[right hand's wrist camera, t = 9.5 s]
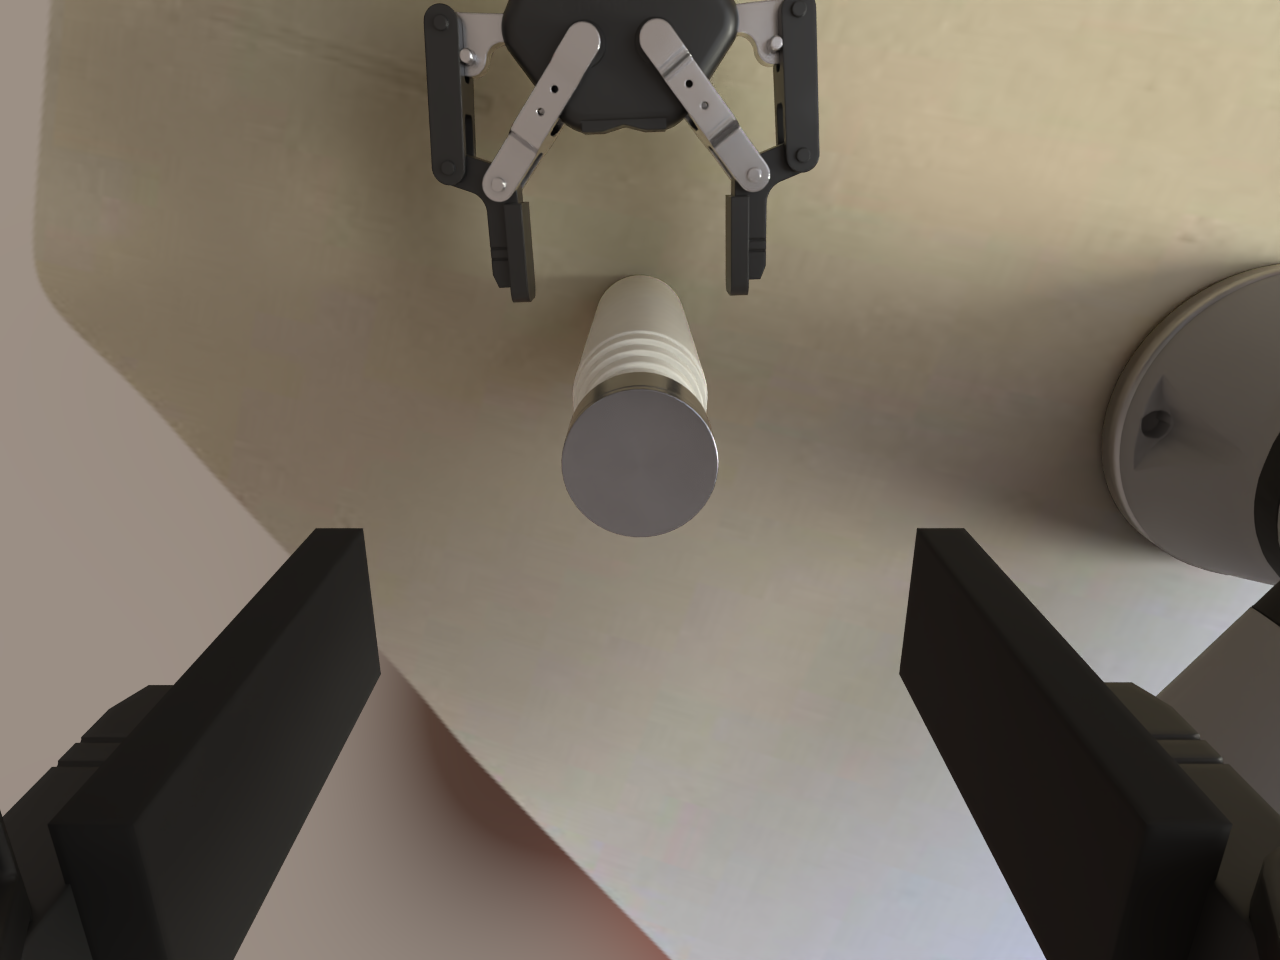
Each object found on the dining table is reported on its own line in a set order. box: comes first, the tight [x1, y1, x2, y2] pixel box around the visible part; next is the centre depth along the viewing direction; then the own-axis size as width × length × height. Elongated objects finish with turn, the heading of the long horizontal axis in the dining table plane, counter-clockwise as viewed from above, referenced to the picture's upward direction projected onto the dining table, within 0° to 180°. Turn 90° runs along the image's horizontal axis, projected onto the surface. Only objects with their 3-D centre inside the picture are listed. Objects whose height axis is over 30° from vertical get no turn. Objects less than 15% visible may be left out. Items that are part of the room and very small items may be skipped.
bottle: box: [573, 275, 707, 411], centre depth 31 cm, size 4×4×21 cm
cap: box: [562, 372, 718, 537], centre depth 21 cm, size 4×4×2 cm
